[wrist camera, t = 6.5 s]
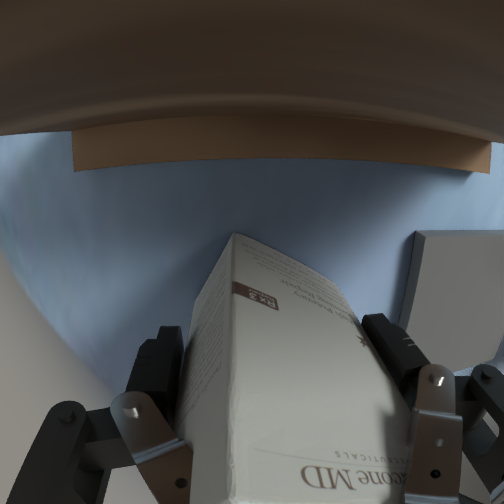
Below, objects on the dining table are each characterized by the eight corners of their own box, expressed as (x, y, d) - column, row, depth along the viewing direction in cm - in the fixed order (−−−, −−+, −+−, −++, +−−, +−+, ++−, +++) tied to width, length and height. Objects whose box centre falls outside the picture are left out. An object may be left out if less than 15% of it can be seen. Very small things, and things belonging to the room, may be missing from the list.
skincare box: (338, 280, 16) (474, 489, 5) (292, 347, 17) (356, 561, 6) (227, 225, 14) (243, 499, 3) (186, 304, 16) (151, 557, 4)
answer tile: (415, 230, 15) (425, 236, 14) (523, 230, 16) (532, 234, 15) (383, 378, 19) (389, 388, 18) (486, 351, 19) (493, 358, 18)
